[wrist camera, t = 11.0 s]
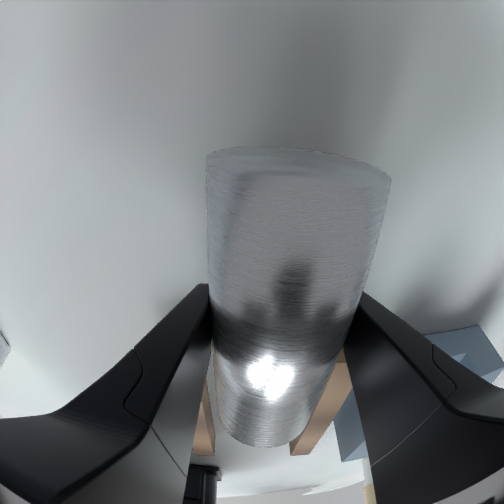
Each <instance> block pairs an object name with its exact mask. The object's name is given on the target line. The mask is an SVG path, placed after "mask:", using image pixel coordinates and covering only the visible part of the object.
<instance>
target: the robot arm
mask: <svg viewBox="0 0 504 504" xmlns="http://www.w3.org/2000/svg"><path fill="white" fill-rule="evenodd" d="M211 342H212V333H211V318H210V300H209V284H202V283H200V284H198V285H197V286H196V287H195V288H194V289H193V290H192V291H191V292H190V293H189V294H188V295H187V296H186V297H185V298H184V299H183V300H181V301H180V302H179V303H178V304H177V305H176V306H175V307H174V308H173V309H172V310H171V311H170V312H169V313H168V314H167V315H166V316H165V317H164V318H163V319H162V320H161V321H160V322H159V323H158V324H157V325H156V326H155V327H154V328H153V329H152V330H151V331H150V332H149V333H148V334H147V335H146V336H145V337H144V338H143V339H142V340H141V341H140V342H139V343H138V344H137V345H136V346H135V347H134V349H131V350H130V351H129V352H128V353H127V354H126V355H125V356H124V357H123V358H122V359H121V360H120V361H119V362H118V363H117V364H116V365H115V366H114V367H113V368H111V369H110V370H109V371H108V372H107V373H105V374H104V375H103V376H102V377H101V378H99V379H98V380H97V381H96V382H94V383H93V384H92V385H91V386H89V387H88V388H87V389H85V390H84V391H83V392H82V393H80V394H79V395H78V396H77V397H75V398H74V399H73V400H71V401H70V402H69V403H68V404H66V405H65V406H63V407H62V408H60V409H58V410H57V411H54V412H52V413H49V414H45V415H38V416H29V417H18V418H5V419H0V504H216V492H217V481H221V474H220V470H219V468H212V467H200V466H190V465H189V463H190V457H191V452H192V446H193V441H194V436H195V430H196V425H197V420H198V415H199V409H200V404H201V399H202V394H203V389H204V384H205V379H206V374H207V369H208V364H209V359H210V354H211ZM343 351H344V356H345V360H346V364H347V367H348V371H349V375H350V379H351V383H352V387H353V390H354V395H355V399H356V403H357V407H358V411H359V415H360V420H361V424H362V429H363V433H364V438H365V443H366V447H367V452H368V457H369V462H370V466H371V474H372V479H373V485H374V491H375V497H376V504H504V389H503V388H499V387H497V386H494V385H493V384H491V383H489V382H488V381H486V380H485V379H483V378H482V377H480V376H479V375H477V374H476V373H474V372H473V371H471V370H470V369H468V368H467V367H465V366H464V365H462V364H461V363H459V362H458V361H457V360H455V359H454V358H452V357H451V356H449V355H448V354H447V353H445V352H444V351H443V350H441V349H440V348H439V347H438V346H436V345H435V344H432V342H431V341H430V340H428V339H427V338H426V337H424V336H423V335H422V334H420V333H419V332H418V331H416V330H415V329H414V328H412V327H411V326H410V325H408V324H407V323H406V322H404V321H403V320H402V319H400V318H399V317H398V316H396V315H395V314H394V313H392V312H391V311H389V310H388V309H387V308H385V307H384V306H383V305H381V304H380V303H379V302H377V301H376V300H374V299H373V298H372V297H370V296H369V295H367V294H366V293H365V292H363V291H362V294H361V297H360V300H359V303H358V306H357V309H356V312H355V315H354V318H353V320H352V323H351V326H350V328H349V331H348V334H347V336H346V339H345V341H344V344H343Z"/></svg>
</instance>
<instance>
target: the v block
mask: <svg viewBox="0 0 504 504" xmlns="http://www.w3.org/2000/svg"><path fill="white" fill-rule="evenodd" d="M423 336H424V337H426V338H427V339H428V340H430V341H431V342H432V344H435V345H436V346H438V347H439V348H440V349H441V350H443V351H444V352H445V353H447V354H448V355H449V356H451V357H452V358H454V359H455V360H457V361H458V362H459V363H461V364H462V365H464V366H465V367H467V368H468V369H470V370H471V371H473V372H474V373H476V374H477V375H479V376H480V377H482V378H483V379H485V380H486V381H488V382H489V383H492V382H493V381H494V380H495V379H496V377H497V376H498V375H499V374H500V373H501V371H502V370H503V369H504V362H503V360H502V359H501V357H500V356H499V354H498V353H497V351H496V350H495V348H494V347H493V345H492V344H491V342H490V341H489V339H488V338H487V336H486V335H485V333H484V332H483V331H482V329H481V328H480V326H479V325H478V326H473V327H468V328H463V329H458V330H453V331H447V332H441V333H435V334H429V335H423ZM333 421H334V426H335V430H336V435H337V440H338V445H339V451H340V456H341V461H342V462H346V461H351V460H356V459H361V458H366V457H368V452H367V447H366V443H365V438H364V433H363V429H362V424H361V420H360V415H359V411H358V407H357V403H356V399H355V395H354V390H353V387H352V389H351V391H350V392H349V394H348V396H347V398H346V399H345V401H344V403H343V404H342V406H341V407H340V409H339V411H338V412H337V414H336V415H335V417H334V419H333Z"/></svg>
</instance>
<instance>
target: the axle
mask: <svg viewBox="0 0 504 504" xmlns="http://www.w3.org/2000/svg"><path fill="white" fill-rule="evenodd" d="M390 185H391V178H390V177H389V176H388V175H387V174H386V173H385V172H383V171H381V170H379V169H377V168H375V167H373V166H371V165H368V164H366V163H363V162H360V161H357V160H354V159H350V158H346V157H343V156H339V155H334V154H329V153H324V152H319V151H313V150H306V149H298V148H287V147H269V146H252V147H236V148H229V149H223V150H219V151H215V152H213V153H211V154H209V155H208V156H207V167H206V194H207V250H208V278H209V300H210V318H211V333H212V348H213V362H214V374H215V385H216V396H217V407H218V414H219V418H220V421H221V423H222V425H223V427H224V428H225V430H226V431H227V432H228V433H229V434H230V435H231V436H232V437H234V438H235V439H236V440H238V441H240V442H242V443H244V444H247V445H250V446H254V447H260V448H269V447H276V446H280V445H283V444H286V443H288V442H290V441H292V440H293V439H295V438H296V437H297V436H298V435H299V434H300V433H301V432H302V431H303V430H304V428H305V427H306V425H307V423H308V421H309V419H310V417H311V415H312V413H313V411H314V409H315V407H316V405H317V403H318V401H319V399H320V397H321V395H322V393H323V390H324V388H325V386H326V384H327V382H328V379H329V377H330V375H331V373H332V370H333V368H334V366H335V363H336V361H337V359H338V356H339V354H340V351H341V349H342V346H343V344H344V341H345V339H346V336H347V334H348V331H349V328H350V326H351V323H352V320H353V318H354V315H355V312H356V309H357V306H358V303H359V300H360V297H361V294H362V291H363V288H364V285H365V282H366V279H367V276H368V272H369V269H370V266H371V262H372V259H373V255H374V252H375V248H376V245H377V241H378V237H379V233H380V229H381V225H382V221H383V217H384V213H385V208H386V204H387V199H388V194H389V190H390Z"/></svg>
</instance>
